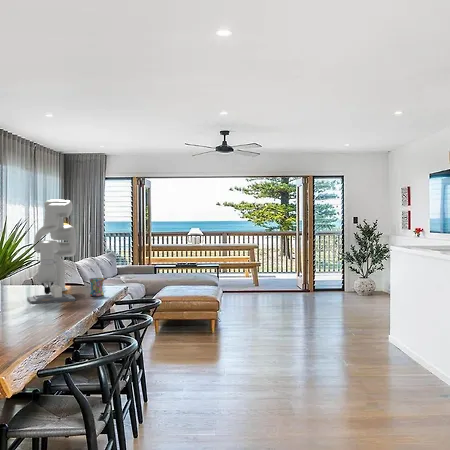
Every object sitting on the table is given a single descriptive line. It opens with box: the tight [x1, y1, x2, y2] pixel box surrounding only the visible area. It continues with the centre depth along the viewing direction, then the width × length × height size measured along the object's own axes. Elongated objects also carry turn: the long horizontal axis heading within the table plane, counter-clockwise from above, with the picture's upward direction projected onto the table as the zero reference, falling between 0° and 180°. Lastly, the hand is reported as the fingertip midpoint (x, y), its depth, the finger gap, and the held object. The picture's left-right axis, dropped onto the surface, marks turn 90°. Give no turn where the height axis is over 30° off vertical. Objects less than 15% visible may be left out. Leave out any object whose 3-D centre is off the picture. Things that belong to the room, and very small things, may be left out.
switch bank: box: [26, 293, 76, 305], centre depth 299 cm, size 18×24×2 cm
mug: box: [88, 277, 105, 297], centre depth 315 cm, size 12×9×11 cm
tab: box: [53, 286, 63, 298], centre depth 297 cm, size 4×4×7 cm
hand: (47, 293), depth 302 cm, fingers closed
